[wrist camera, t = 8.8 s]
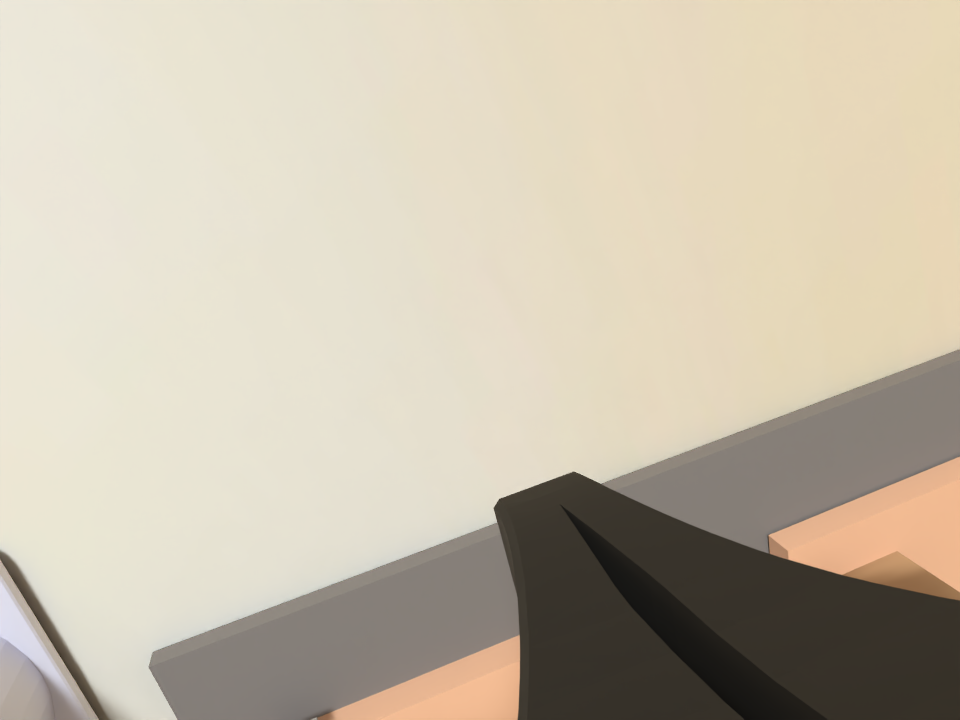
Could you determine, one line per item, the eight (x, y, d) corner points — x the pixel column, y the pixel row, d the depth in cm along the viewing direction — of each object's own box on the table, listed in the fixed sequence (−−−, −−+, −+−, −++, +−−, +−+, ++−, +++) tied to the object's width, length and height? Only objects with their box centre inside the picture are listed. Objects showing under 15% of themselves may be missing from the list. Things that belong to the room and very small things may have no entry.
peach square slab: (785, 733, 27) (864, 825, 23) (768, 535, 23) (858, 607, 20) (981, 640, 29) (1084, 712, 25) (993, 442, 25) (1114, 493, 21)
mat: (341, 998, 25) (343, 1017, 25) (152, 652, 19) (149, 667, 18) (965, 692, 31) (978, 702, 30) (983, 340, 24) (999, 345, 24)
